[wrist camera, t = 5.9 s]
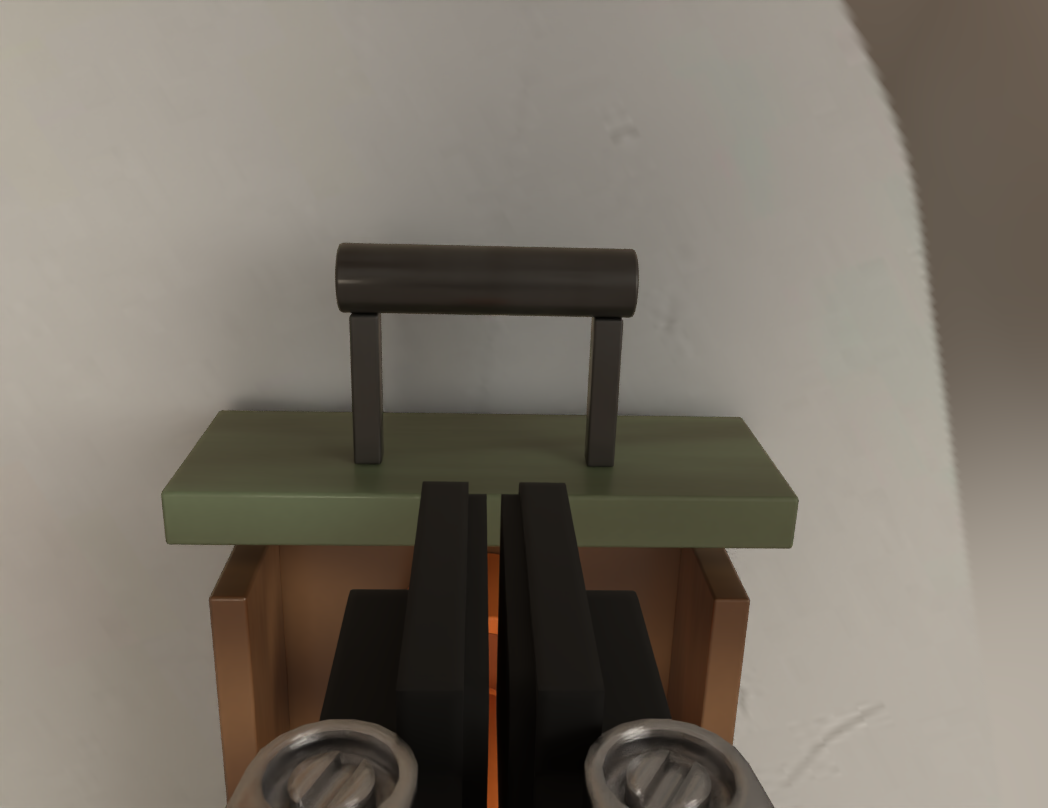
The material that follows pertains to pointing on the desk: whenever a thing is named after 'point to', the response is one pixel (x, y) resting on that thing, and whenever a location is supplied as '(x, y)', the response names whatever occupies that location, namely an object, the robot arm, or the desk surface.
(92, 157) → the desk surface
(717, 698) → the drawer
